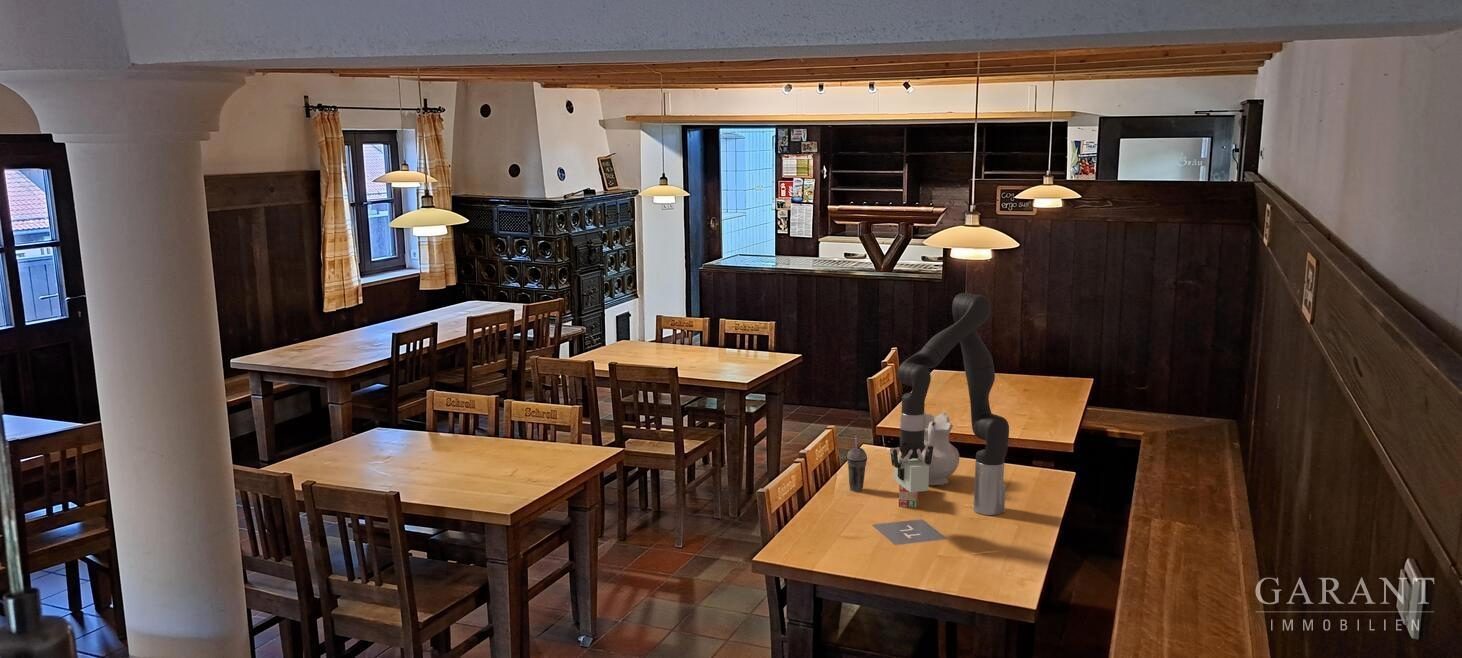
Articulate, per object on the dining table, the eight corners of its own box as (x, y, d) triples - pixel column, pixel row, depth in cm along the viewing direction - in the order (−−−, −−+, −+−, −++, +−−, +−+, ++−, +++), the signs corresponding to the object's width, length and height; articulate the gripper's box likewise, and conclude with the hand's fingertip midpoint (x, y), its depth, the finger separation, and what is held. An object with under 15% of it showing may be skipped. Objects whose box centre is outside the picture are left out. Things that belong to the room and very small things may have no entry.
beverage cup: (869, 488, 373) (871, 434, 370) (861, 494, 367) (862, 439, 363) (851, 485, 377) (852, 431, 373) (842, 490, 371) (843, 436, 367)
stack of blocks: (900, 487, 374) (901, 454, 372) (918, 489, 373) (919, 455, 371) (898, 508, 354) (899, 473, 352) (917, 509, 353) (918, 474, 350)
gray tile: (922, 520, 342) (922, 519, 342) (948, 539, 325) (948, 538, 325) (871, 525, 337) (871, 524, 337) (894, 545, 320) (894, 544, 320)
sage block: (911, 478, 335) (911, 454, 334) (928, 490, 324) (929, 465, 322) (894, 480, 333) (894, 456, 332) (910, 492, 322) (911, 467, 321)
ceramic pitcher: (962, 494, 370) (970, 426, 366) (907, 490, 370) (915, 422, 366) (950, 475, 392) (958, 411, 387) (898, 471, 392) (906, 406, 387)
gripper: (928, 421, 331) (926, 472, 334) (886, 425, 327) (884, 477, 330) (939, 428, 323) (937, 480, 327) (896, 431, 320) (895, 484, 323)
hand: (911, 478), depth 328 cm, fingers closed on sage block, 6 cm apart
